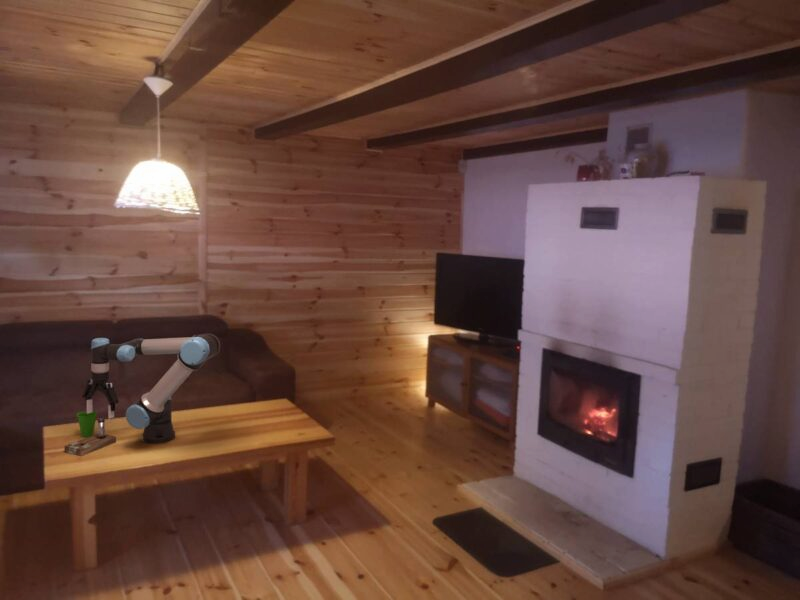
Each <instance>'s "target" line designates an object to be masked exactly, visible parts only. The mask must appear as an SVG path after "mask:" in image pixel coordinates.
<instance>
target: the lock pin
mask: <svg viewBox="0 0 800 600" xmlns="http://www.w3.org/2000/svg"><path fill="white" fill-rule="evenodd" d="M105 420H106V418H104V417H98V418H97V434H98V439H103V438H105V434H106V426H105V425H106V423H105Z"/></svg>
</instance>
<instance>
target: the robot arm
mask: <svg viewBox="0 0 800 600" xmlns="http://www.w3.org/2000/svg"><path fill="white" fill-rule="evenodd" d="M90 345H91V347H90V351H91V355H90V356H91V361H90V362H91V363H90V364H91V365H90V367H91V368H90V371H91V374H90V376H91V378H90V379H87V381H86V386H85V389H84V391H83V393H82V399H84V400H85V406H86V411H87V414H89V413H92V412H93V411H94V410H93V409H94V408H93V406H94V405H93V401H94V400H93V396H94V394H96V392H101V393H102V394H104V396H105V398H106V400H107V401H108V403H109V404H108V406H107V407H108V408H107V409H108V410H107V411H108V413H107V414H108V417H107V418H108V419H113V418H114V417H115V411H116V404H119V398H118V395H117V392H116V390H115V387H114V382H110V383H109V379H110V361H116V362H117V361H119V362H122V363H123V362H131V361H132V360H133V359H134V358H135V357H136V356H148V355H149V356H150V355H154V356H155V355H171V354H174V355H175V354H177V360H176V361H175V362H174V363H173V364H172V365H171V367H170V368H169V369H168V370H167V371H166V372H165V374H164V375H163V376H162V377H161V378H160V379H159V381H158V382H157V383H156V384H155V385H154V386H153V388H152V389H151V390H150V391H148V392H146V393H143V394H142V395H141V397H140V398H138V400H137V401H136V402H135V403H134V404H131V405H130V406H129V407H128V408H127V409H126V411H125V419H126V422H127V423H128V425H129V426H130V427H132V428H133V429H135V430H137V429H138V430H141V429H142V430H143V432H142V435H141V438H142V441H143V442H144V443H148V444H162V443H168V442H171V441H173V440H175V439H176V431H175V429H174V426H173V422H172V412H173V411H172V408H173V407H172V405H173V404H172V403H173V402H172V400H173V399H172V396H173V395H174V393H176V391H177V390H178V389H179V388H180V386H181V385H182V384H183V383H184V382H185V381H186V380H187V378H188V377H189V376H190V375H191V373H193V371H198V370H200V369H201V367H202V366H203V365H204V364H205V362H207V361H208V360H209V359H212V358H214V357H215V356H217V355H218V354H219V352H220V351H221V342H220V339H219V338H218V337H217V335H215V334H212V333H202V334H194V335H193V336H191V337H189V336H188V337H187V336H185V337H167V338H149V339H147V338H145V339H144V338H134V339H133V340H130V341H129V340H128V341H127V342H123V343H121V344H117V343H116V344H115V343H110V339H109V338H106V337H96V338H94V339H92V340H91V344H90Z"/></svg>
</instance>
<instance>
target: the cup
mask: <svg viewBox="0 0 800 600" xmlns="http://www.w3.org/2000/svg"><path fill="white" fill-rule="evenodd" d="M97 414H98V412H97V411H95V410H93V412H92V413H89V414H87V410H85V411H81V412H78V413H77V414H76V417H77V419H78V425H79V429H80V436H81V437H82V438H88V437H91V436H93V435H94V432H95V426H96V421H97V420H96V418H97Z"/></svg>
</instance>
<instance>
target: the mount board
mask: <svg viewBox="0 0 800 600" xmlns="http://www.w3.org/2000/svg"><path fill="white" fill-rule="evenodd" d="M116 443H117V436H116V435H111V434H106V433H105V438H103V439H98V433H96V434H93V436H91V437H84V438H82V439H79V440H77V441H75V440H74V441H73V442H70V443H68V444H66V445H63V446H64V453H66V454H71V455H75V456H78V457H83V456H86V455H88V454H90V453H93V452H95V451H97V450H101V449H103V448H106V447H108V446H111V445H113V444H116Z"/></svg>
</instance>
